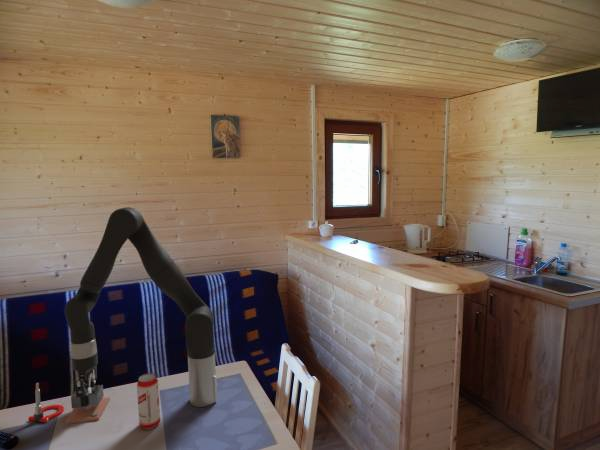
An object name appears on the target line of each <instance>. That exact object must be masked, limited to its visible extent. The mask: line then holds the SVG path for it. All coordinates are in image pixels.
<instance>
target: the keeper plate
mask: <svg viewBox="0 0 600 450" xmlns="http://www.w3.org/2000/svg"><path fill="white" fill-rule="evenodd" d="M88 393H92V392H91V387H89V388H88ZM110 400H111V397H110V396H107V397H103V398H102V400H101V401H100V403H99V405H98V406H89V407H80V408H72V411H71V412H70V413H69V415H68V417H67V418H66V420H65V425H69V424H76V423H86V422H92V421H94V422H95V421H99V420H100V419H101V417H102V416H103V413H104V411H105V410H106V408H107V406H108V404H109V403H110Z"/></svg>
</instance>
